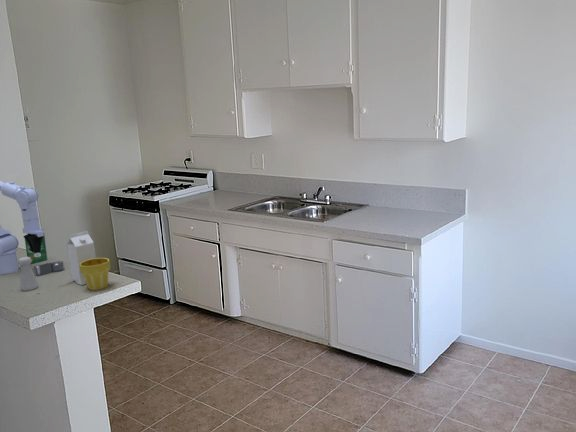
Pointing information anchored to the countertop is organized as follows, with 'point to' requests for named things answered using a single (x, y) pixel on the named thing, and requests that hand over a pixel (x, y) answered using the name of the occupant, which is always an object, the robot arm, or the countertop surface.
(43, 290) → the countertop surface
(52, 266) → the knob
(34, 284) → the salt shaker
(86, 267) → the plant pot
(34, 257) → the coffee box
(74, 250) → the milk carton
